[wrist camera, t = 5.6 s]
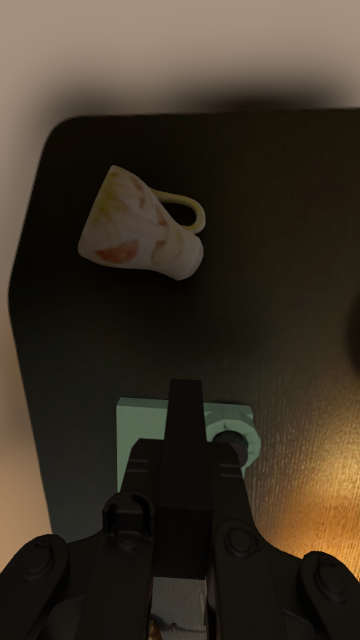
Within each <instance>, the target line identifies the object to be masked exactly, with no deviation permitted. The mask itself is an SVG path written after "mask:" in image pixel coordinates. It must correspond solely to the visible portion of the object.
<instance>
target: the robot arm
mask: <svg viewBox="0 0 360 640" xmlns="http://www.w3.org/2000/svg"><path fill="white" fill-rule="evenodd" d="M102 516H103V529H102V530H101V531H99V532H98V533H96V534H94V535H92V536H90V537H88V538H85V539H81V540H78V541H74V542H71V543H67V544H66V542H65V540H64V539H63V538H61V537H60V536H58V535H53V534H46V535H42V536H38V537H36V538H34V539H32V540H31V541H29V542H28V543H26V544H25V545H24V546H23V547H22V548H21V549H20V550H19V551H18V552H17V553H16V554H15V555H14V557H13V558H12V559H11V560H10V562H9V563H8V564H7V566H6V567H5V568H4V570H3V571H2V572H1V573H0V640H148V639H149V629H150V618H151V608H152V590H153V580H154V577H168V578H183V579H197V580H205V576H206V584H207V597H206V605H205V613H204V622H203V625H205V626H206V631H207V640H360V583H359V582H358V581H357V579H356V578H355V576H354V575H353V574H352V573H351V572H350V570H349V569H348V568H347V567H346V566H345V565H344V564H343V563H342V562H340V561H339V560H338V559H336V558H335V557H334V556H332V555H329V554H327V553H325V552H322V551H311V552H309V553H307V554H306V555H304V557H303V559H300V558H298V557H295V556H293V555H291V554H288V553H286V552H284V551H281V550H279V549H277V548H276V547H274V546H272V545H271V544H270V543H269V542H267V541H266V540H265V539H264V538H263V537H262V535H261V534H260V533H259V531H258V530H257V528H256V526H255V524H254V521H253V518H252V514H251V509H250V505H249V501H248V496H247V492H246V488H245V483H244V479H243V475H242V470H241V468H240V462H239V457H238V453H237V452H236V451H235V449H234V448H233V447H232V445H231V444H230V443H223V442H208V441H207V436H206V425H205V415H204V404H203V394H202V383H201V381H199V380H183V379H171V383H170V391H169V399H168V408H167V416H166V424H165V433H164V440H163V439H147V438H139V439H138V440H137V441H136V443H135V444H134V445H133V446H132V448H131V451H130V455H129V459H128V462H127V466H126V471H125V473H124V477H123V481H122V485H121V488H120V492H118V493H116V494H114V495H113V496H112V497H111V498H110V499H109V500H108V501H107V503H106V505H105V506H104V508H103V510H102Z"/></svg>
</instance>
